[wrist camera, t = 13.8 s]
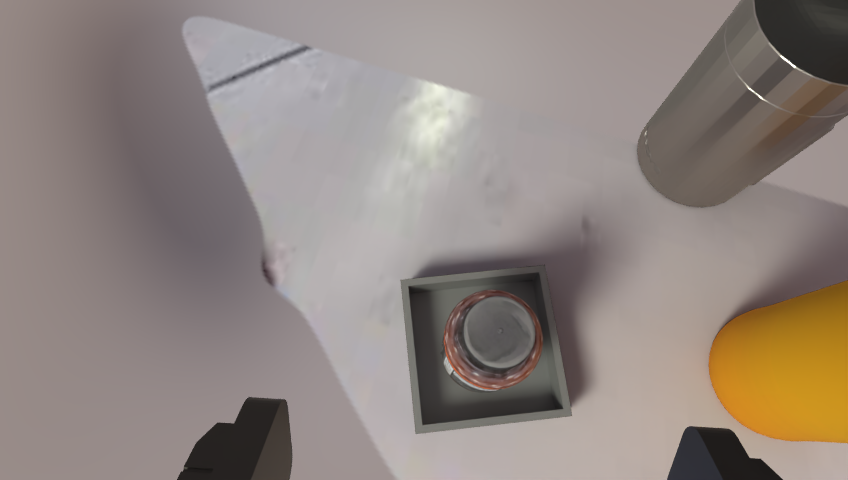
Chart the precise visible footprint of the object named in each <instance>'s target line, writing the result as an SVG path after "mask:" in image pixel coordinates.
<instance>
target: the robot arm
mask: <svg viewBox="0 0 848 480" xmlns="http://www.w3.org/2000/svg"><path fill="white" fill-rule="evenodd" d="M847 115H848V0H741V1H740V2H739V4H738V5H737V6H736V7H735V9H734V10H733V12H732V13H731V14H730V16H729V17H728V18H727V20H726V21H725V22H724V24H723V25H722V26H721V28H720V29H719V30H718V31H717V33H716V34H715V35H714V37H713V38H712V39H711V41H710V42H709V43H708V45H707V46H706V47H705V48H704V50H703V51H702V52H701V54H700V55H699V56H698V58H697V59H696V60H695V62H694V63H693V64H692V66H691V67H690V68H689V70H688V71H687V72H686V73H685V75H684V76H683V77H682V79H681V80H680V81H679V83H678V84H677V85H676V87H675V88H674V89H673V90H672V92H671V93H670V94H669V96H668V97H667V98H666V99H665V101H664V102H663V103H662V105H661V106H660V107H659V109H658V110H657V111H656V113H655V114H654V115H653V117H652V118H651V119H650V120H649V122H648V123H647V125H646V126H645V127H644V129H643V131H642V132H641V135H640V138H639V140H638V149H637V152H638V160H639V164H640V166H641V169H642V172H643V173H644V175H645V176H646V178H647V180H648V181H649V182H650V183H651V185H652V186H653V187H654V188H655V189H656V190H657V191H659V192H660V193H661V194H663V195H664V196H665V197H667V198H669V199H671V200H673V201H675V202H677V203H680V204H683V205H687V206H692V207H709V206H715V205H718V204H721V203H724V202H725V201H727V200H729V199H730V198H732V197H733V196H735V195H736V194H738V193H739V192H740V191H742V190H743V189H745V188H746V187H747V186H749V185H754V184H756V183H757V182H759V181H760V180H762V179H763V178H764V177H766V176H767V175H769V174H770V173H771V172H773V171H774V170H776V169H777V168H778V167H780V166H781V165H783V164H784V163H786V162H787V161H788V160H790V159H791V158H793V157H794V156H796V155H797V154H798V153H800V152H801V151H803V150H804V149H805V148H807V147H808V146H810V145H811V144H813V143H814V142H815V141H817V140H818V139H820V138H821V137H823V136H824V135H825V134H827V133H828V132H830V131H831V130H832V129H833V128H834V125H835V124H836V123H837V122H839V121H840V120H841V119H843V118H844V117H845V116H847ZM291 467H292V444H291V434H290V424H289V415H288V406H287V402H286V400H285V399H268V398H252V397H249V398H247V399H246V401H245V402H244V404H243V406H242V408H241V410H240V412H239V414H238V417H237V419H236V421H235V423H234V424H231V423H217V424H216V425H215V426H214V427H212V428H211V429H210V430H209V431H208V432H207V433H206V434H205V435H204V436H203V437H202V438H201V439H200V440H199V441H198V442H197V443H196V444H195V446H194V448H193V450H192V452H191V454H190V456H189V458H188V460H187V462H186V463H185V465H184V470H183V472H181V473H180V475H179V477H178V479H177V480H289V479H290V474H291ZM667 480H783V479H782V478H781V477H780V476H778V475H777V474H776V473H775V472H774V471H773V470H772V469H771V468H770V467H769V466H768V465H767V464H766V463H765V462H763V461H762V460H761V459H755V458H749V456H748V455H747V453H746V451H745V449H744V448H743V446H742V444H741V443H740V441H739V439H738V437H737V436H736V435H735V433H734V432H733V431H731V430H730V429H724V428H708V427H693V426H689V427H687V428H686V429H685V431H684V433H683V436H682V439H681V441H680V444H679V447H678V450H677V453H676V455H675V458H674V461H673V464H672V467H671V469H670V472H669V475H668V478H667Z"/></svg>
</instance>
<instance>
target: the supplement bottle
mask: <svg viewBox="0 0 848 480" xmlns="http://www.w3.org/2000/svg"><path fill="white" fill-rule="evenodd" d="M542 346H543V335H542V329H541V326H540V323H539V321H538V319H537V316H536V314H535V313H534V312H533V310H532V309H531V308H530V307H529V306H528V304H527V303H525V302H524V301H523V300H522V299H520V298H519V297H517V296H515V295H513V294H511V293H508V292H505V291H500V290H484V291H479V292H476V293H473V294H472V295H469V296H468V297H466V298H464V299H463V300H462V301H461V302H459V303H458V304H457V305H456V307H455V308H454V309H453V310H452V312H451V314H450V315H449V318H448V320H447V323H446V326H445V331H444V335H443V340H442V346H441V353H440V354H441V356H442V360H443V363H444V366H445V368H446V370H447V372H448V374H449V375H450V377H451V378H452V379H453V380H454V381H455V382H456V383H457V384H459V385H460V386H461V387H463V388H465V389H467V390H470V391H473V392H478V393H490V392H495V391H498V390H502V389H505V388H508V387H511V386H513V385H516V384H518V383H520V382H521V381H523V380H524V379H525V378H526V377H528V376H529V374H530V373H531V372H532V371H533V370H534V368H535V367H536V365H537V363H538V361H539V359H540V356H541V352H542Z"/></svg>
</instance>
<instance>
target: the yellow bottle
mask: <svg viewBox="0 0 848 480" xmlns="http://www.w3.org/2000/svg"><path fill="white" fill-rule="evenodd" d="M709 373H710V378H711V382H712V386H713V388H714V390H715V393H716V395H717V397H718V399H719V400H720V402H721V403H722V405H723V406H724V408H725V409H726V410H727V411H728V412H729V413H730V414H731V415H732V416H733V417H734V418H735V419H736V420H737V421H739V422H740V423H741V424H742V425H744V426H745V427H747V428H749V429H751V430H752V431H754V432H756V433H759V434H762V435H765V436H767V437H770V438H774V439H780V440H786V441H819V442H836V443H848V280H847V281H844V282H841V283H838V284H835V285H832V286H829V287H825V288H822V289H819V290H816V291H813V292H810V293H807V294H804V295H801V296H798V297H795V298H792V299H788V300H785V301H782V302H779V303H776V304H773V305H770V306H766V307H762V308H758V309H754V310H751V311H748V312H746V313H744V314H742V315H739V316H737V317H736V318H734V319H733V320H731V321H730V322H729V323H727V324H726V325H725V326H724V327H723V328H722V329H721V331H720V332H719V333H718V334H717V336H716V338H715V340H714V341H713V344H712V347H711V351H710V356H709Z"/></svg>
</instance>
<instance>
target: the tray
mask: <svg viewBox="0 0 848 480" xmlns="http://www.w3.org/2000/svg"><path fill="white" fill-rule="evenodd" d="M401 289H402V299H403V309H404V320H405V330H406V340H407V350H408V361H409V371H410V381H411V391H412V401H413V412H414V422H415V432H416V434H419V433H428V432H437V431H446V430H454V429H463V428H472V427H480V426H489V425H498V424H507V423H515V422H524V421H533V420H541V419H550V418H559V417H568V416H572V412H571V406H570V401H569V395H568V390H567V384H566V379H565V373H564V368H563V362H562V357H561V351H560V346H559V340H558V335H557V329H556V324H555V318H554V313H553V307H552V302H551V296H550V291H549V285H548V280H547V274H546V269H545V265H539V266H529V267H520V268H510V269H501V270H491V271H481V272H472V273H462V274H453V275H443V276H434V277H424V278H414V279H405V280H401ZM484 290H500V291H505V292H508V293H511V294H513V295H515V296H517V297H519V298H520V299H522V300H523V301H524V302H525V303H527V304H528V306H529V307H530V308H531V309H532V310H533V312H534V313H535V314H536V316H537V319H538V321H539V323H540V326H541V329H542V335H543V346H542V352H541V356H540V359H539V361H538V363H537V365H536V367H535V368H534V370H533V371H532V372H531V373H530V374H529V376H528V377H526V378H525V379H524V380H523V381H521V382H520V383H518V384H516V385H513V386H511V387H508V388H505V389H502V390H498V391H495V392H490V393H478V392H473V391H470V390H467V389H465V388H463V387H461V386H460V385H459V384H457V383H456V382H455V381H454V380H453V379H452V378H451V377H450V375H449V374H448V372H447V370H446V368H445V366H444V363H443V360H442V356H441V354H440V353H441V346H442V340H443V335H444V331H445V326H446V323H447V320H448V318H449V315H450V314H451V312H452V310H453V309H454V308H455V307H456V305H457V304H458V303H459V302H461V301H462V300H463V299H464V298H466V297H468V296H469V295H472V294H473V293H476V292H479V291H484Z"/></svg>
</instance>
